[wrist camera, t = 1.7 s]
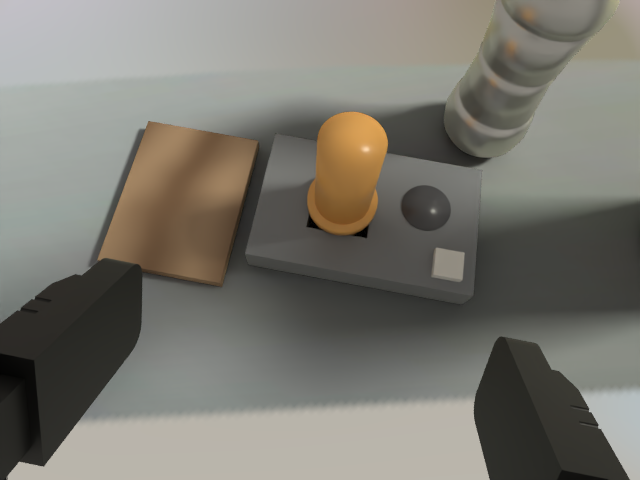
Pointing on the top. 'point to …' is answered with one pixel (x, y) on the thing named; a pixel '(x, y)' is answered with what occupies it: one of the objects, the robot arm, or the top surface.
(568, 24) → the plastic bottle
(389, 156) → the grey socket board
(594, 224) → the top surface
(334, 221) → the plug
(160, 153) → the board
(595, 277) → the top surface
